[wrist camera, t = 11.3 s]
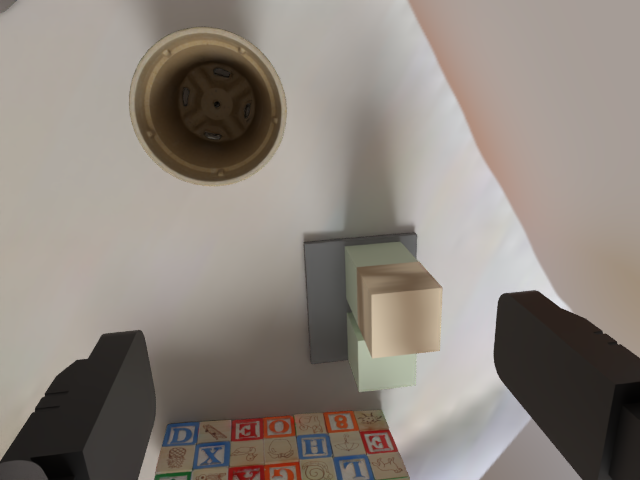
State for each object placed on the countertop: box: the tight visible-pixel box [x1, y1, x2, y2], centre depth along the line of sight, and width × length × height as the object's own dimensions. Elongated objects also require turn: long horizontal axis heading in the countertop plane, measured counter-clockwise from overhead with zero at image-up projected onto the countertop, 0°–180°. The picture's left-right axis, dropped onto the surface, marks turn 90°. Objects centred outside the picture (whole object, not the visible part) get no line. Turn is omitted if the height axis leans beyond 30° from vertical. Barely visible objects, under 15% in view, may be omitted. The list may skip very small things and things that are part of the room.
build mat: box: [304, 233, 417, 364], centre depth 44 cm, size 10×12×1 cm
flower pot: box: [129, 27, 287, 186], centre depth 33 cm, size 9×9×9 cm
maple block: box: [357, 262, 442, 358], centre depth 36 cm, size 5×5×5 cm
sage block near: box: [345, 242, 418, 325], centre depth 41 cm, size 5×5×5 cm
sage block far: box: [347, 312, 417, 392], centre depth 43 cm, size 5×5×5 cm
